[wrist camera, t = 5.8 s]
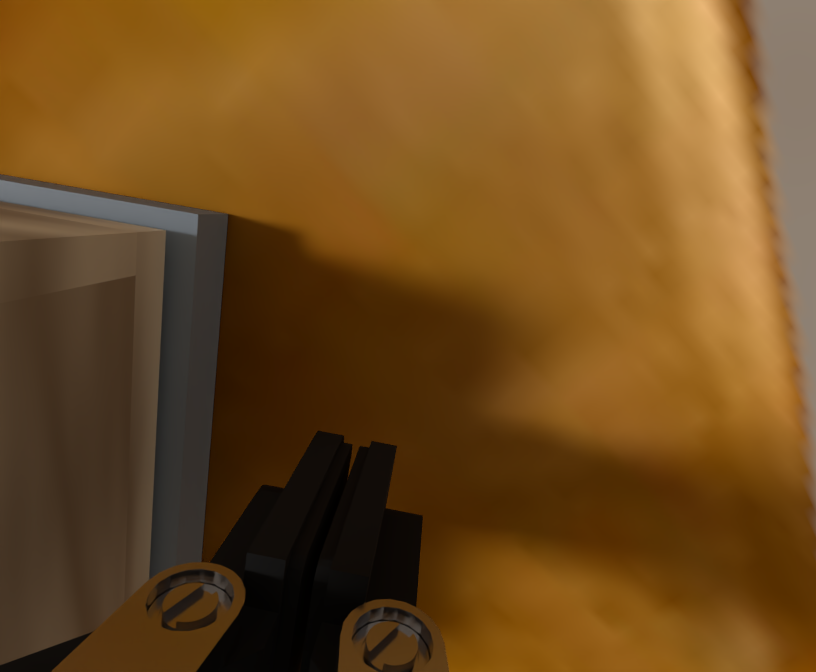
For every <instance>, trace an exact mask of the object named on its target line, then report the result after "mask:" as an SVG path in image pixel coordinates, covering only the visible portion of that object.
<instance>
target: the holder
mask: <svg viewBox="0 0 816 672" xmlns="http://www.w3.org/2000/svg"><path fill="white" fill-rule="evenodd" d="M165 241H166V230H161V229H155V228H150V227H144V226H138V225H133V224H127V223H121V222H116V221H110V220H104V219H98V218H93V217H87V216H81V215H76V214H70V213H64V212H59V211H53V210H47V209H41V208H36V207H30V206H24V205H19V204H13V203H7V202H2V201H0V665H2V664H5V663H8V662H11V661H13V660H16V659H19V658H22V657H24V656H27V655H30V654H33V653H35V652H38V651H41V650H44V649H46V648H49V647H52V646H55V645H57V644H60V643H63V642H66V641H68V640H71V639H74V638H77V637H79V636H82V635H85V634H88V633H90V632H93V631H95V630H96V629H97V628H98V627H99V626H100V625H101V624H102V623H103V622H104V621H105V620H106V619H107V618H108V617H109V616H111V615H112V614H113V613H114V612H115V611H116V610H117V609H118V608H119V607H120V606H121V605H122V604H123V603H124V602H125V601H126V600H128V599H129V598H130V597H131V596H132V595H133V594H134V593H135V592H136V591H137V590H138V589H139V588H140V587H141V586H142V585H143V584H145V583H146V582H147V581H148V580H149V569H150V549H151V528H152V508H153V487H154V467H155V446H156V426H157V405H158V385H159V364H160V344H161V323H162V303H163V282H164V262H165Z"/></svg>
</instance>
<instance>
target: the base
mask: <svg viewBox="0 0 816 672" xmlns="http://www.w3.org/2000/svg"><path fill="white" fill-rule="evenodd" d="M0 201H2V202H7V203H13V204H19V205H24V206H30V207H36V208H41V209H47V210H53V211H59V212H64V213H70V214H76V215H81V216H87V217H93V218H98V219H104V220H110V221H116V222H121V223H127V224H133V225H138V226H144V227H150V228H155V229H161V230H166V241H165V262H164V282H163V303H162V323H161V344H160V364H159V385H158V405H157V426H156V446H155V467H154V487H153V508H152V528H151V549H150V569H149V580H150V579H151V578H152V577H154V576H155V575H156V574H158V573H159V572H162V571H164V570H166V569H169V568H171V567H173V566H177V565H181V564H186V563H190V562H201V560H202V547H203V534H204V521H205V508H206V496H207V483H208V470H209V457H210V444H211V431H212V418H213V405H214V392H215V380H216V367H217V354H218V341H219V328H220V315H221V302H222V289H223V277H224V264H225V251H226V238H227V225H228V214H225V213H220V212H214V211H208V210H202V209H197V208H191V207H185V206H179V205H174V204H168V203H162V202H156V201H151V200H145V199H139V198H133V197H128V196H122V195H116V194H110V193H105V192H99V191H93V190H87V189H82V188H76V187H70V186H64V185H59V184H53V183H47V182H41V181H36V180H30V179H24V178H18V177H13V176H7V175H1V174H0Z"/></svg>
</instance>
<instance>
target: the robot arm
mask: <svg viewBox="0 0 816 672" xmlns="http://www.w3.org/2000/svg"><path fill="white" fill-rule="evenodd" d="M396 448H397V446H394V445H389V444H384V443H379V442H374V441H371V444H370V447H369V448H368V447H363V446H360V447H359V450H358V453H357V456H356V458H355V461H354V464H353V467H352V469H351V472H350V475H349V477H348V472H349V466H350V460H351V454H352V444H347V443H344V436H343V435H337V434H332V433H327V432H322V431H318V432H317V433H316V435H315V436H314V438H313V440H312V442H311V443H310V445H309V447H308V448H307V450H306V452H305V454H304V455H303V457H302V459H301V460H300V462H299V464H298V466H297V467H296V469H295V471H294V472H293V474H292V476H291V478H290V479H289V481H288V483H287V485H286V486H285V488H279V487H274V486H269V485H262V486H261V488H260V489H259V490H258V492H257V493H256V495H255V496H254V498H253V499H252V501H251V502H250V503H249V505H248V506H247V508H246V509H245V511H244V512H243V514H242V515H241V517H240V518H239V520H238V521H237V523H236V524H235V526H234V527H233V529H232V530H231V532H230V533H229V535H228V536H227V538H226V539H225V541H224V542H223V544H222V545H221V547H220V548H219V550H218V551H217V553H216V554H215V556H214V557H213V559H212V560H211V562H210V563H208V562H190V563H186V564H181V565H177V566H173V567H171V568H169V569H166V570H164V571H162V572H159V573H158V574H156V575H155V576H154V577H152V578H151V579H150V580H148V581H147V582H146V583H145V584H143V585H142V586H141V587H140V588H139V589H138V590H137V591H136V592H135V593H134V594H133V595H132V596H131V597H130V598H129V599H128V600H126V601H125V602H124V603H123V604H122V605H121V606H120V607H119V608H118V609H117V610H116V611H115V612H114V613H113V614H112V615H111V616H109V617H108V618H107V619H106V620H105V621H104V622H103V623H102V624H101V625H100V626H99V627H98V628H97V629H96V630H95V631H93V632H90V633H88V634H85V635H82V636H79V637H77V638H74V639H71V640H68V641H66V642H63V643H60V644H57V645H55V646H52V647H49V648H46V649H44V650H41V651H38V652H35V653H33V654H30V655H27V656H24V657H22V658H19V659H16V660H13V661H11V662H8V663H5V664H2V665H0V672H449V668H448V662H447V656H446V651H445V645H444V641H443V638H442V635H441V632H440V630H439V628H438V627H437V626H436V624H435V623H434V622H433V620H432V619H431V618H430V617H429V616H428V615H427V614H425V613H424V612H423V611H422V610H420V609H419V608H417V607H416V601H417V587H418V574H419V561H420V547H421V534H422V520H423V516H422V515H417V514H412V513H406V512H401V511H396V510H391V509H386V503H387V497H388V492H389V486H390V481H391V475H392V470H393V464H394V459H395V454H396ZM347 479H348V480H347Z"/></svg>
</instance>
